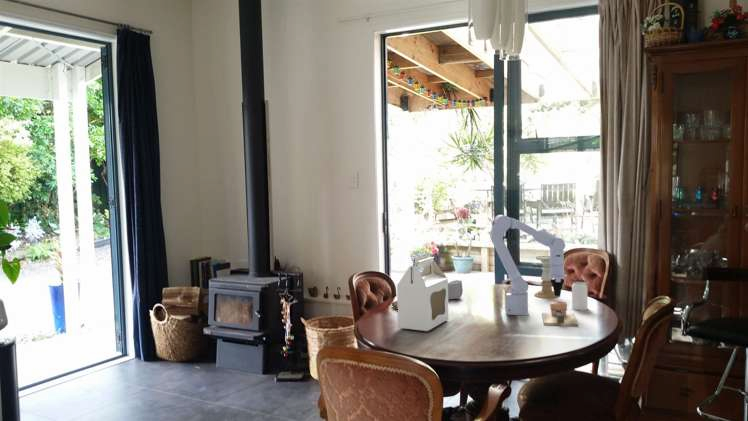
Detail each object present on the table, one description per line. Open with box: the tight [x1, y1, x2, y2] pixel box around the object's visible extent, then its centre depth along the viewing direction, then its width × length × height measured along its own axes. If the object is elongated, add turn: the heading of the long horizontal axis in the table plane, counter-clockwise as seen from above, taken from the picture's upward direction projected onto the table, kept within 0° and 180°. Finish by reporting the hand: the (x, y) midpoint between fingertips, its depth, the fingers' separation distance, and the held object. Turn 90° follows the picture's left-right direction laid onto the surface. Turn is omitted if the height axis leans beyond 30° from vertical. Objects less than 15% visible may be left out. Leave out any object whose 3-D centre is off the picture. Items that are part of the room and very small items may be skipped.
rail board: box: [541, 310, 579, 327], centre depth 229 cm, size 13×18×4 cm
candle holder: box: [533, 255, 561, 299], centre depth 277 cm, size 12×12×20 cm
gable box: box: [396, 253, 450, 332], centre depth 230 cm, size 22×13×28 cm, turn 151°
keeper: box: [549, 301, 568, 316], centre depth 235 cm, size 6×5×5 cm
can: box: [571, 281, 589, 311], centre depth 249 cm, size 6×6×12 cm
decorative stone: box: [448, 279, 464, 300], centre depth 278 cm, size 15×7×10 cm
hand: (557, 295), depth 243 cm, fingers closed
